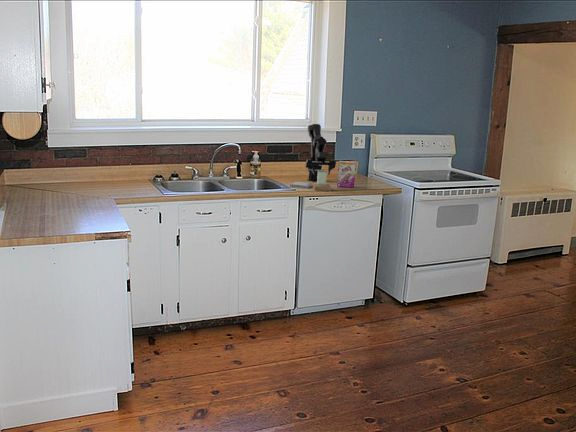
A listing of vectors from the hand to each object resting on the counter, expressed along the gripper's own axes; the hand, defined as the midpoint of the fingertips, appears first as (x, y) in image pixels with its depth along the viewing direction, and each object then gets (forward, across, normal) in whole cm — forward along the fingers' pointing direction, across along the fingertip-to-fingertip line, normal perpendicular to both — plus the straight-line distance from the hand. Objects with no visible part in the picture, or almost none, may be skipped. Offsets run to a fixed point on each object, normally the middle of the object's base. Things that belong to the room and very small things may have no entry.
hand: (321, 174), depth 365 cm
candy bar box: (-1, +18, +14) cm, 23 cm away
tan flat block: (+8, 0, +5) cm, 9 cm away
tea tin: (+5, 0, +4) cm, 6 cm away
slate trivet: (0, -11, +12) cm, 17 cm away
